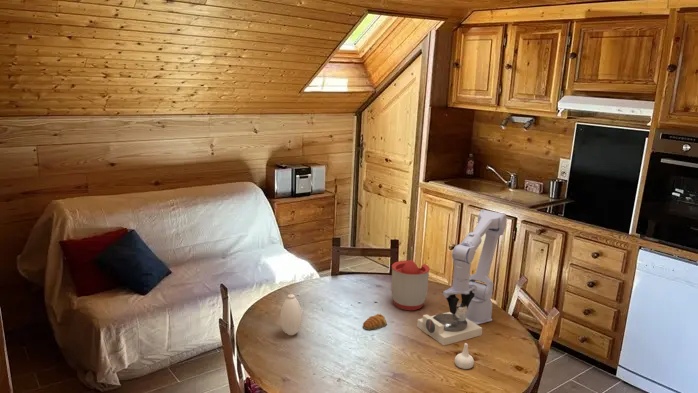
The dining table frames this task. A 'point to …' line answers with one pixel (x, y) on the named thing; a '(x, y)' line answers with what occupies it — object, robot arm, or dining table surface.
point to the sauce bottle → (291, 315)
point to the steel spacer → (460, 312)
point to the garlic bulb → (464, 359)
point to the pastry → (375, 322)
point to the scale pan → (450, 322)
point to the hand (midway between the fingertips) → (458, 311)
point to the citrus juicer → (409, 284)
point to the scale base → (444, 336)
